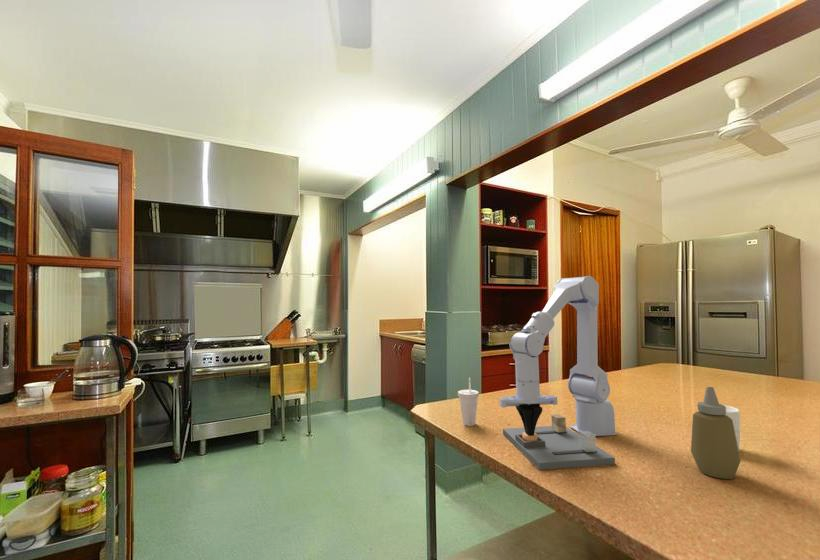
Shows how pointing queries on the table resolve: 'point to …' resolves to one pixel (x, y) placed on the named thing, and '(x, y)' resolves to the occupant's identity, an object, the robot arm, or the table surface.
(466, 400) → the smoothie
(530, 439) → the orange button
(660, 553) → the table surface
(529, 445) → the control board
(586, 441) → the metal slider
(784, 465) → the table surface
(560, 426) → the birch slider
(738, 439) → the white cup
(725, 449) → the squeeze bottle
